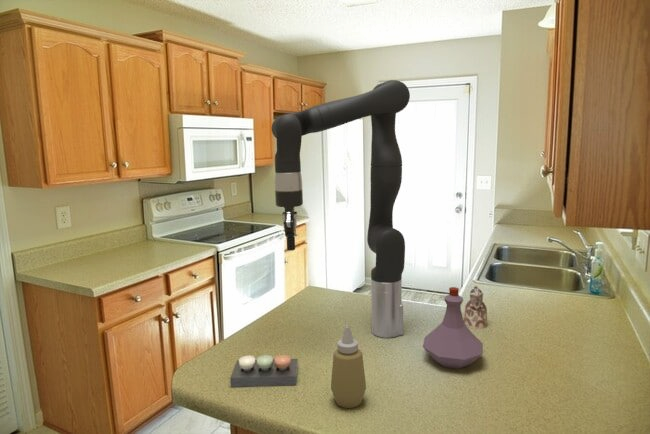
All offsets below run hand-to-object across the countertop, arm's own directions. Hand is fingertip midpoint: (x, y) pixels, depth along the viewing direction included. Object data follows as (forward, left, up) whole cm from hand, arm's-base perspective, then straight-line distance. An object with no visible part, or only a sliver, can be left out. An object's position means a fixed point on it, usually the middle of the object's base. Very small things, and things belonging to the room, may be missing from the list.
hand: (291, 249), depth 126 cm
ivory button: (+11, +17, -28) cm, 35 cm away
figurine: (-57, -12, -29) cm, 65 cm away
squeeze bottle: (-14, +29, -29) cm, 43 cm away
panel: (+7, +17, -29) cm, 34 cm away
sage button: (+7, +17, -28) cm, 33 cm away
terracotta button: (+2, +17, -28) cm, 33 cm away
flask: (-43, +11, -29) cm, 53 cm away
